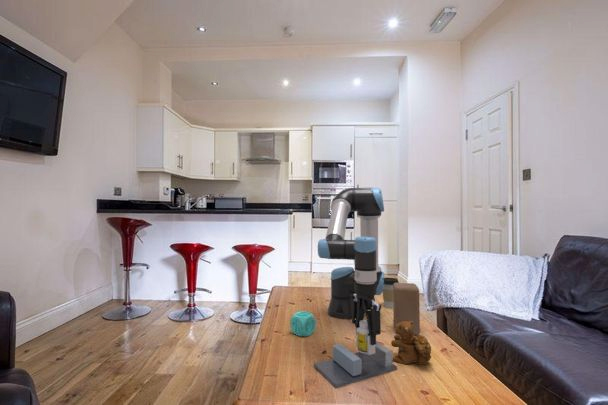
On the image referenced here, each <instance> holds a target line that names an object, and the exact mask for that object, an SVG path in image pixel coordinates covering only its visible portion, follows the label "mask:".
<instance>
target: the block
mask: <svg viewBox="0 0 608 405" xmlns="http://www.w3.org/2000/svg"><path fill="white" fill-rule="evenodd" d="M392 310H393V311H392V312H393V327H394V329H395V328H396V325H397V324H398V323H400V322H404V321H407V322H409V321H412V322H413V324H412V327H413V334H414V336H417V335H421V334H420V333H421V331H420V329H421V328H420V327H421V326H420V322H421V320H420V316H421V315H420V289H419V287H418V285H417V284H416V283H414V282H413V283H412V282H411V283H410V282H399V283H394V284H393V308H392ZM396 334H397V332H396Z"/></svg>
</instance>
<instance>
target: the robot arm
mask: <svg viewBox="0 0 608 405" xmlns="http://www.w3.org/2000/svg"><path fill="white" fill-rule="evenodd" d="M384 204H385V203H384V198H383V193H382V189H381V188H380V187H348V188H345V189H343V190H341V191H340V192H338V193H337V194H336V195H335V196H334V197H333V199H332V201H331V205H330V211H331V214H330V218H329V222H328V227H327V231H326V234H325V238H322V239H319V240H318V242H317V255H318V256H317V257H319V258H320V259H325V260H326V259H328V260H352V261H354V267H353V266H342V267H338V268H334V269H333V270H332V271H331V274H330V284H331V285H330V288H331V289H330V293H331V294H330V301H329V304H328V307H327V314H328V316H330V317H332V318H336V319H351V323H352V324H353V325H354V327H355V335H356V336H355V337H356V347H357V348H358V333H357V332H358V328H359V327H360V325H359V322H360V321H361V320H365V319H364V318H365V317H366V320H367V324H368V330H369V334H367V354H368V355H371V354H374V353H375V345H376V341H377V336H378V335H381V334H382V330H381V329H382V326H381V309H382V304H381V303H377V302H376V299H375V296H380V295H383V293H382V291H383V285H384V278H385V272H384V271H382V267H381V266H380V265H379V218H380V217H381V216H382V213H384V212H385V206H384ZM350 212H356V213H357V214H356V216H357V217H359V219H360V220H359V221H360V223H359V224H360V228H359V230H360V236H357V237H355V238H354V239H345V236H346V230H347V229H346V228H347V221H348V217H349V216H348V215H349V214H350ZM372 330H373V331H372Z"/></svg>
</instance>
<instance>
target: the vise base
mask: <svg viewBox="0 0 608 405" xmlns="http://www.w3.org/2000/svg"><path fill="white" fill-rule="evenodd" d="M353 353H354V354H355V355H356V356H358V357H359V358H360V359H361V374H360V375H356V376H352V375H351V374H350V373H349V372H347V371H346V370H345V369H344V368H343V367H341V366H340V365H339V364H338V363H337V362H336V361H334V360H333V358H330V359H326V360H325V359H324V360H322V361H318V362H314V363H313V367H314V368H315V370H317V371H318V372H319V373H320V374H321V375H322V376H323V377H324V378H325V379H326V380H327V381H328V382H329V383H330V384H331V385H332V386H333V387H334V389H337V388H341V387H343V386H347V385H351V384H355V383H358V382H360V381H364V380H367V379H371V378H374V377H376V376H377V377H378V376H381V375H384V374H387V373H390V372H394V371H397V370H398V366H397V365H396V364H394V361H393V357H394V356H393V350H392V349H391V348H389V347H387V346H385V345H383V344H382V343H381V342H379V341H377V340H376V345H375V353H374V354H371V355H368V354H363V353H361V352H359V351H358V352H353Z"/></svg>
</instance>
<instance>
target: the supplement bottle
mask: <svg viewBox="0 0 608 405" xmlns="http://www.w3.org/2000/svg"><path fill="white" fill-rule="evenodd" d="M359 325H360V327H359V328H358V332H357V333H358V347H357V351H358V352H361V353H363V354H367V334H369V330H368V324H367V319H363V320H361V321H360V322H359ZM372 331H373V330H372Z"/></svg>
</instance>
